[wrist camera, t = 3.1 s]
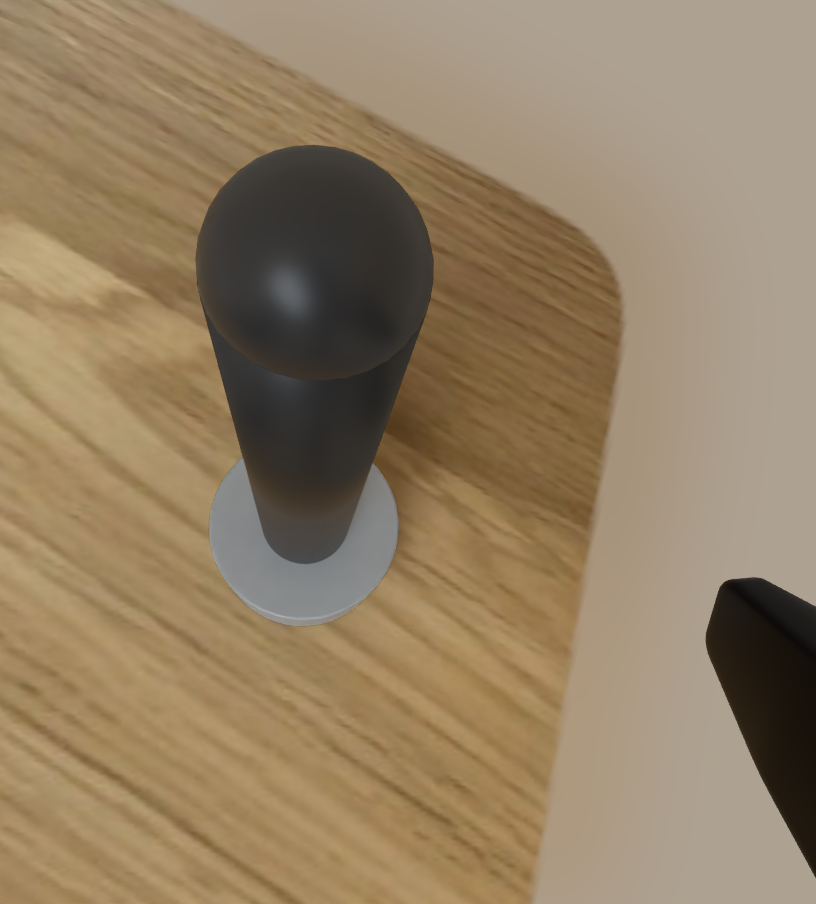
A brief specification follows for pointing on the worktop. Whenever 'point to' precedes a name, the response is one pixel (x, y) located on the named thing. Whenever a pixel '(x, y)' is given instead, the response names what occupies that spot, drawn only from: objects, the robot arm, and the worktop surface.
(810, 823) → the robot arm
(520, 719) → the worktop surface
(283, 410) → the joystick
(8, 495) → the worktop surface
